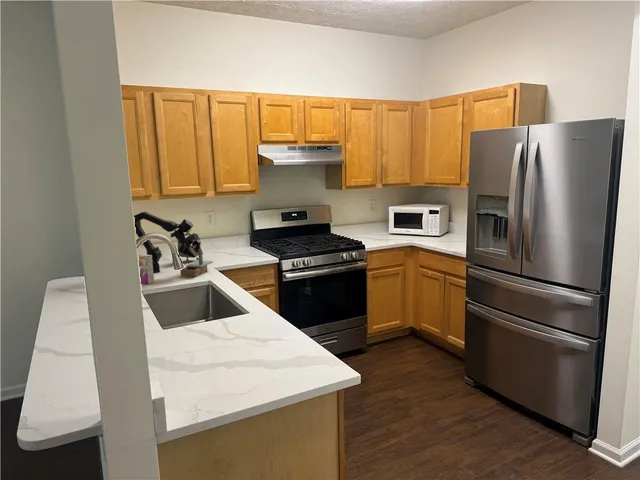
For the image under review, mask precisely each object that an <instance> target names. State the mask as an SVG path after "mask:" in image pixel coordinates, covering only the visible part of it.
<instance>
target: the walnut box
mask: <svg viewBox="0 0 640 480" xmlns="http://www.w3.org/2000/svg"><path fill="white" fill-rule="evenodd" d="M181 269H182V270H179V272H180V277H181V278H194V277H196V278H198V277H200V276H202V275H204V274H207V273H208V265H206V266H203V267H183V268H181ZM206 272H207V273H206ZM201 274H202V275H201ZM199 275H200V276H199ZM197 276H198V277H197Z"/></svg>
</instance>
